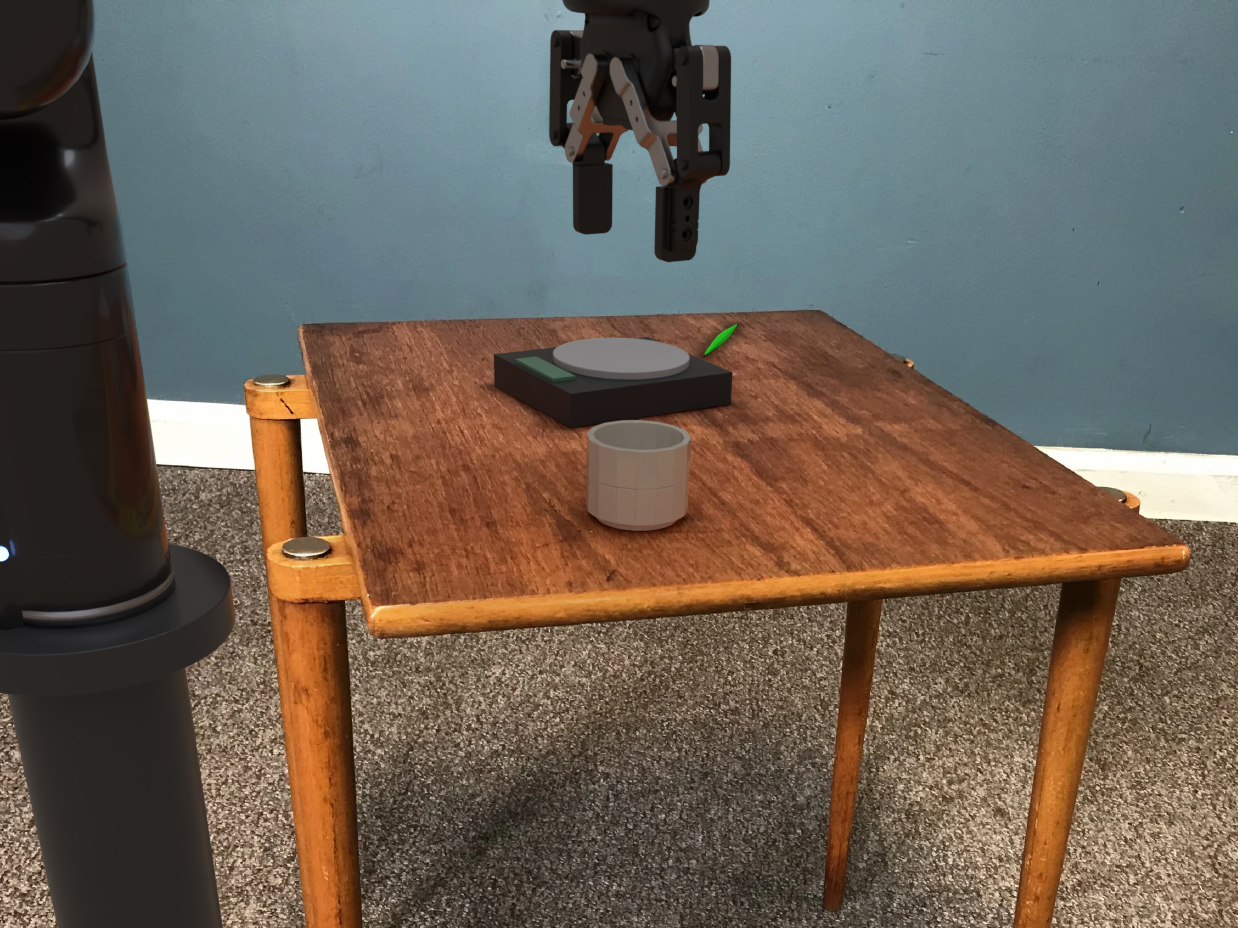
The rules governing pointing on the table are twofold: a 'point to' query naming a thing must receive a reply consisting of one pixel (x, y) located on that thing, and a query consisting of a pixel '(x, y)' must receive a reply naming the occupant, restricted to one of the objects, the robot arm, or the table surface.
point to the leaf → (720, 339)
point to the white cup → (637, 474)
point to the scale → (611, 380)
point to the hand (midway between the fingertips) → (632, 246)
